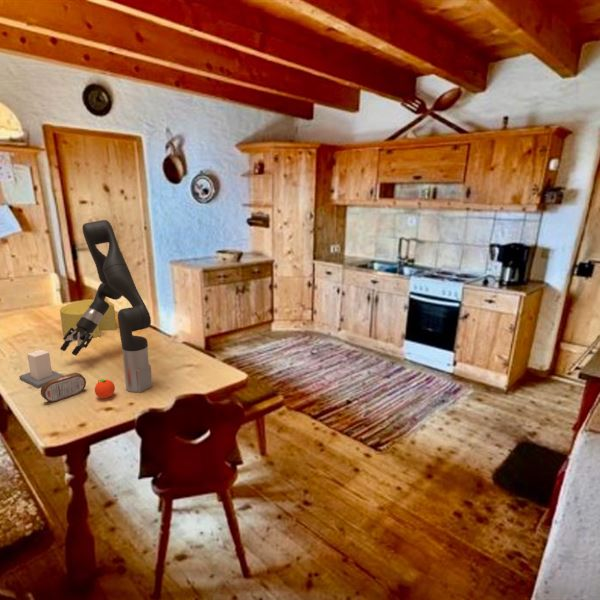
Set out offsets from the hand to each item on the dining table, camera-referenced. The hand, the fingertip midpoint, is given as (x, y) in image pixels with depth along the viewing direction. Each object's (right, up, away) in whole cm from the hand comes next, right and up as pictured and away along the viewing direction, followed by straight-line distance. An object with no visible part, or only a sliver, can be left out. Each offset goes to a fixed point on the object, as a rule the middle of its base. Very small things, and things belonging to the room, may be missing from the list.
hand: (67, 352), depth 169 cm
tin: (+12, -14, -21) cm, 28 cm away
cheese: (-16, +5, +48) cm, 50 cm away
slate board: (-6, -10, -8) cm, 14 cm away
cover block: (-6, -9, -8) cm, 13 cm away
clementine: (+26, -15, -20) cm, 35 cm away
